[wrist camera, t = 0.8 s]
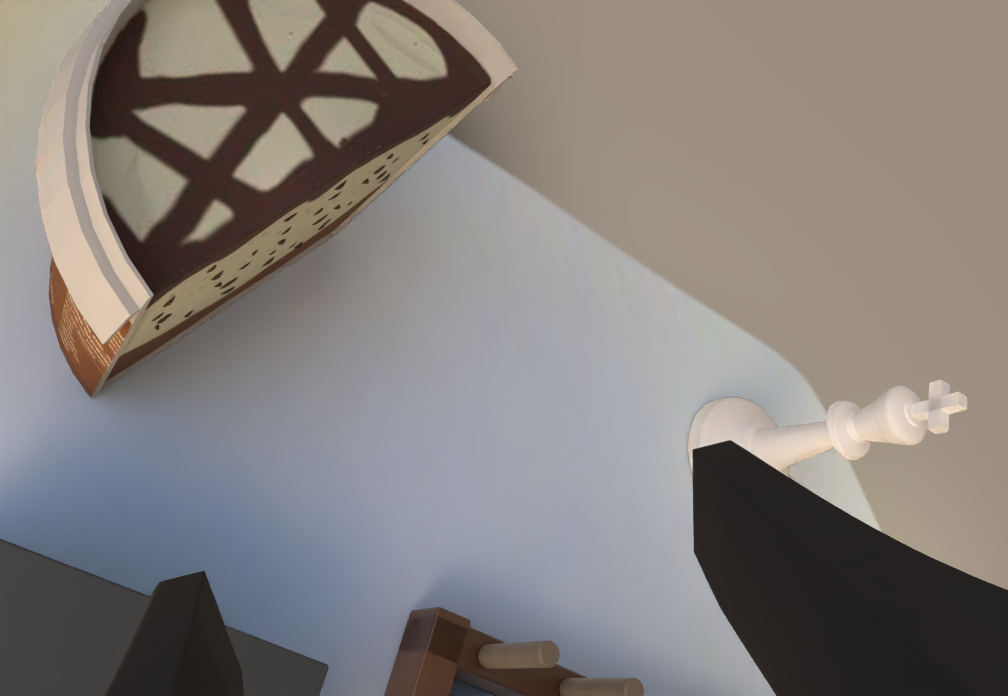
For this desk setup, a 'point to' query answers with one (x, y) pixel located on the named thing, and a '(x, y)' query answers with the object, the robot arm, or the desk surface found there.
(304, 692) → the box
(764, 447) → the chess piece
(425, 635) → the dish rack
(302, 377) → the desk surface
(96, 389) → the food container
